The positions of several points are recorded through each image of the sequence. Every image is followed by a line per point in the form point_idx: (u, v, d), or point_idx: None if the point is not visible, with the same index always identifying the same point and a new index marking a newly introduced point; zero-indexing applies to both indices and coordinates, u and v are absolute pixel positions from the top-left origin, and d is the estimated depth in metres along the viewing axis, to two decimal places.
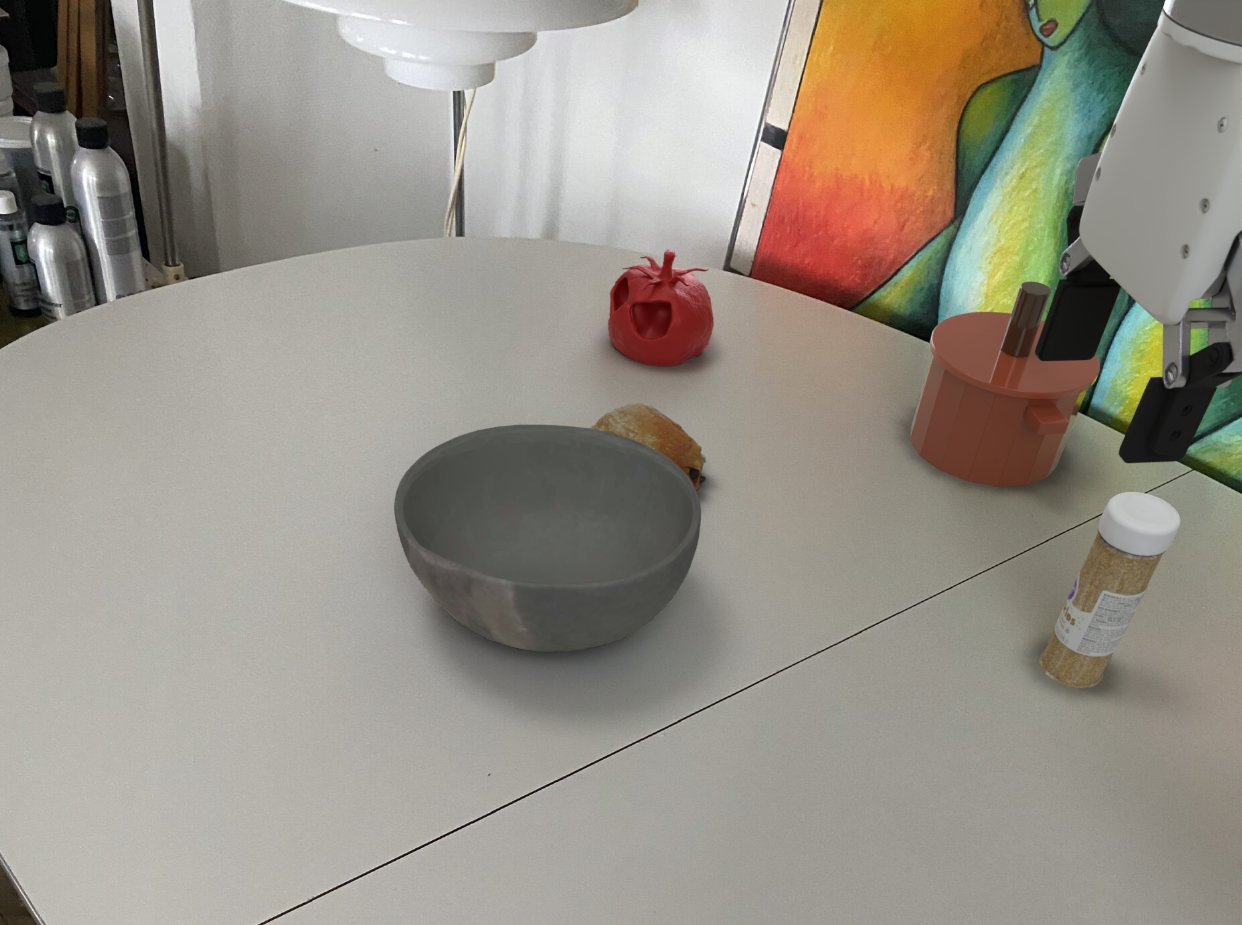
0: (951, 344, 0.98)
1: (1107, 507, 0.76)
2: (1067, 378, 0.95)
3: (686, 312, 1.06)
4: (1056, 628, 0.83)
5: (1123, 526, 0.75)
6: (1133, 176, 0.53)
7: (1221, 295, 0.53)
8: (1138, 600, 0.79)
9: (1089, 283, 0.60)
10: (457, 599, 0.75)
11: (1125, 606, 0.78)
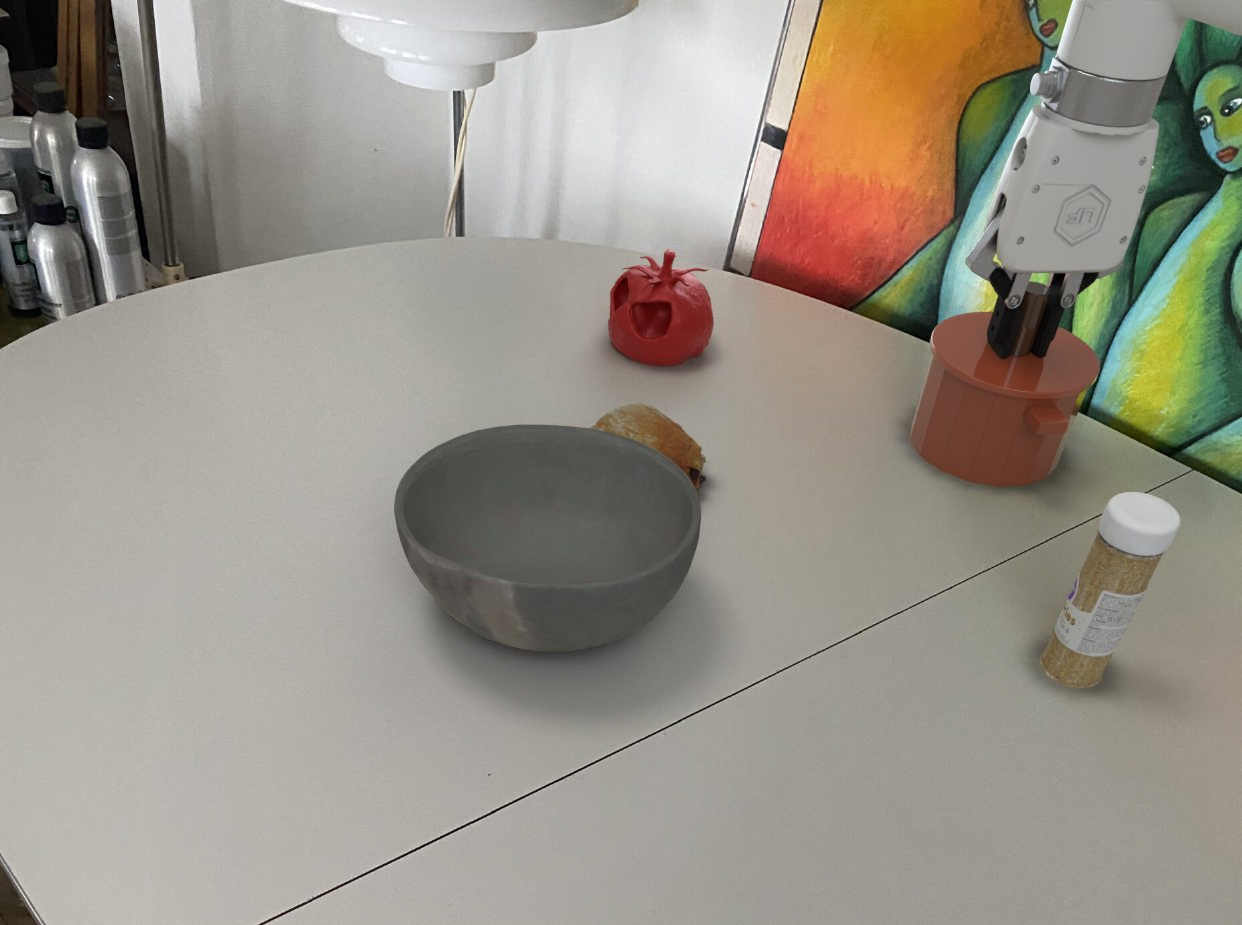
0: (951, 344, 0.98)
1: (1107, 507, 0.76)
2: (1067, 378, 0.95)
3: (686, 312, 1.06)
4: (1056, 628, 0.83)
5: (1123, 526, 0.75)
6: None
7: None
8: (1138, 600, 0.79)
9: None
10: (457, 599, 0.75)
11: (1125, 606, 0.78)
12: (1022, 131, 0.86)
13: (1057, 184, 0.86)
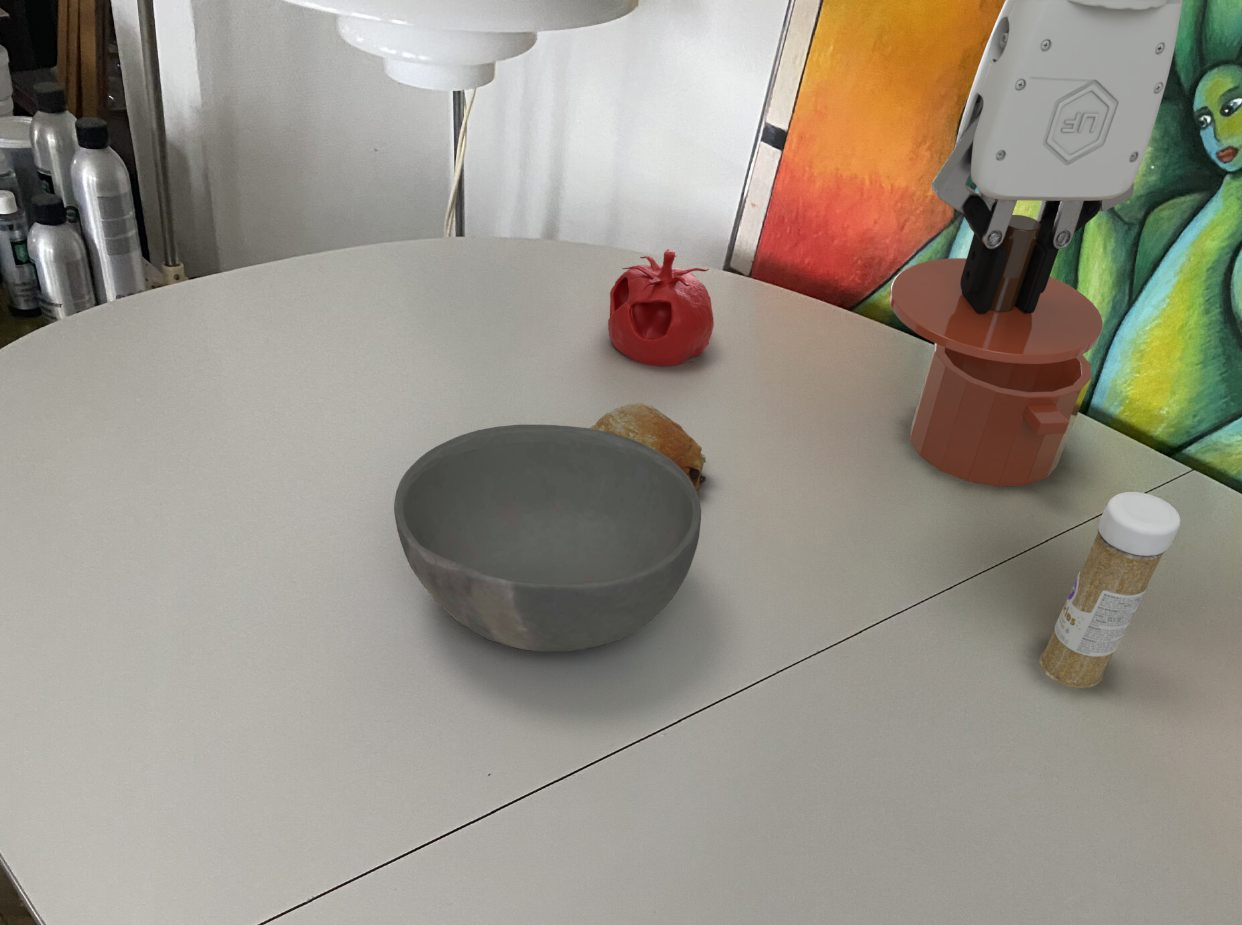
0: (916, 295, 0.78)
1: (1107, 507, 0.76)
2: (1062, 337, 0.75)
3: (686, 312, 1.06)
4: (1056, 628, 0.83)
5: (1123, 526, 0.75)
6: None
7: None
8: (1138, 600, 0.79)
9: None
10: (457, 599, 0.75)
11: (1125, 606, 0.78)
12: (1003, 10, 0.66)
13: (1049, 78, 0.65)
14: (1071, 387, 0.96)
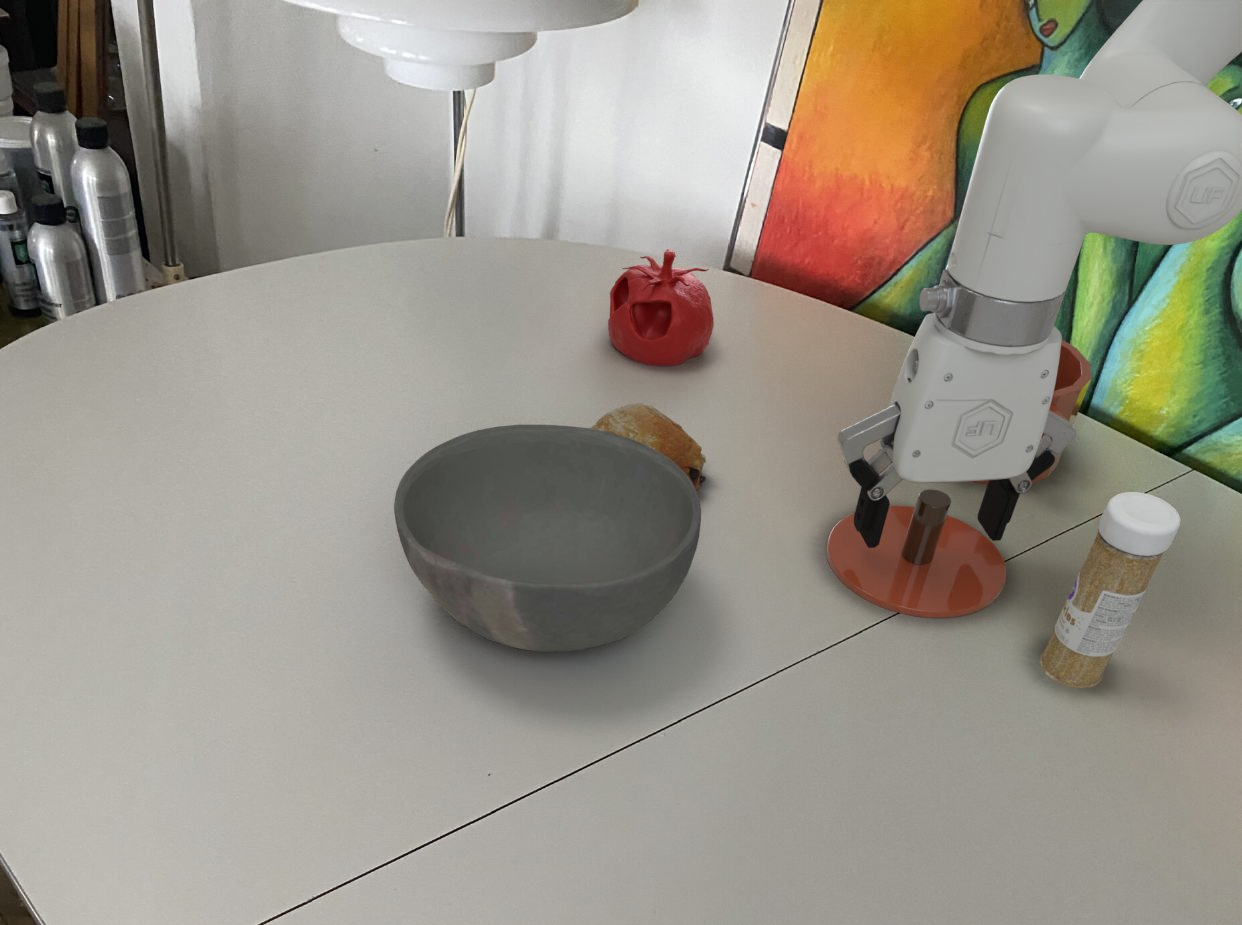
0: (848, 549, 0.92)
1: (1107, 507, 0.76)
2: (970, 591, 0.89)
3: (686, 312, 1.06)
4: (1056, 628, 0.83)
5: (1123, 526, 0.75)
6: None
7: None
8: (1138, 600, 0.79)
9: (1001, 482, 0.88)
10: (457, 599, 0.75)
11: (1125, 606, 0.78)
12: (914, 341, 0.79)
13: (952, 400, 0.79)
14: (1071, 387, 0.96)
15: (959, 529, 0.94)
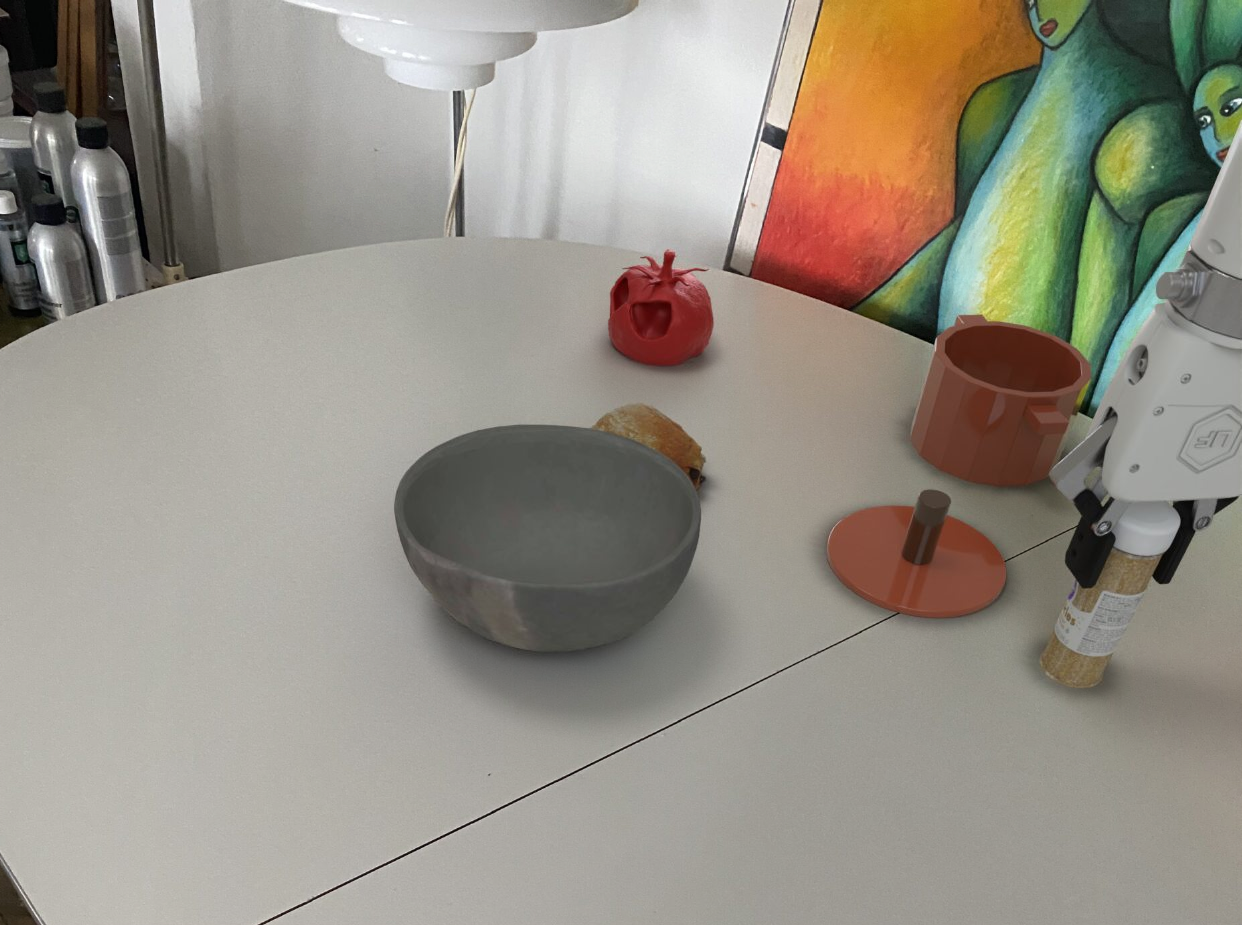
0: (848, 549, 0.92)
1: None
2: (970, 591, 0.89)
3: (686, 312, 1.06)
4: (1056, 628, 0.83)
5: (1123, 526, 0.75)
6: None
7: None
8: (1138, 600, 0.79)
9: None
10: (457, 599, 0.75)
11: (1125, 606, 0.78)
12: (1140, 336, 0.67)
13: (1186, 405, 0.67)
14: (1071, 387, 0.96)
15: (959, 529, 0.94)
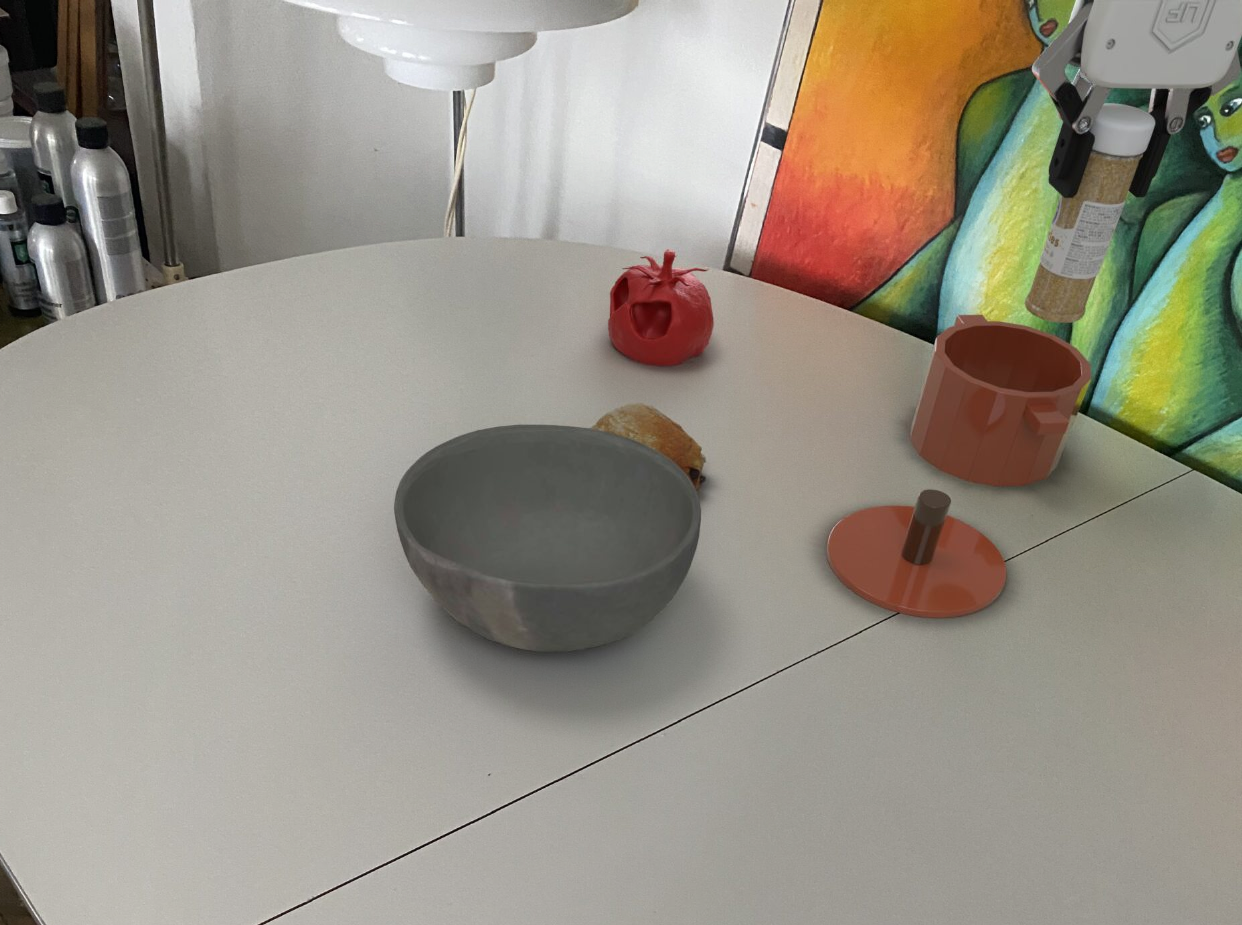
0: (848, 549, 0.92)
1: None
2: (970, 591, 0.89)
3: (686, 312, 1.06)
4: (1041, 257, 0.88)
5: (1102, 125, 0.80)
6: None
7: None
8: (1117, 213, 0.84)
9: None
10: (457, 599, 0.75)
11: (1105, 218, 0.84)
12: None
13: None
14: (1071, 387, 0.96)
15: (959, 529, 0.94)
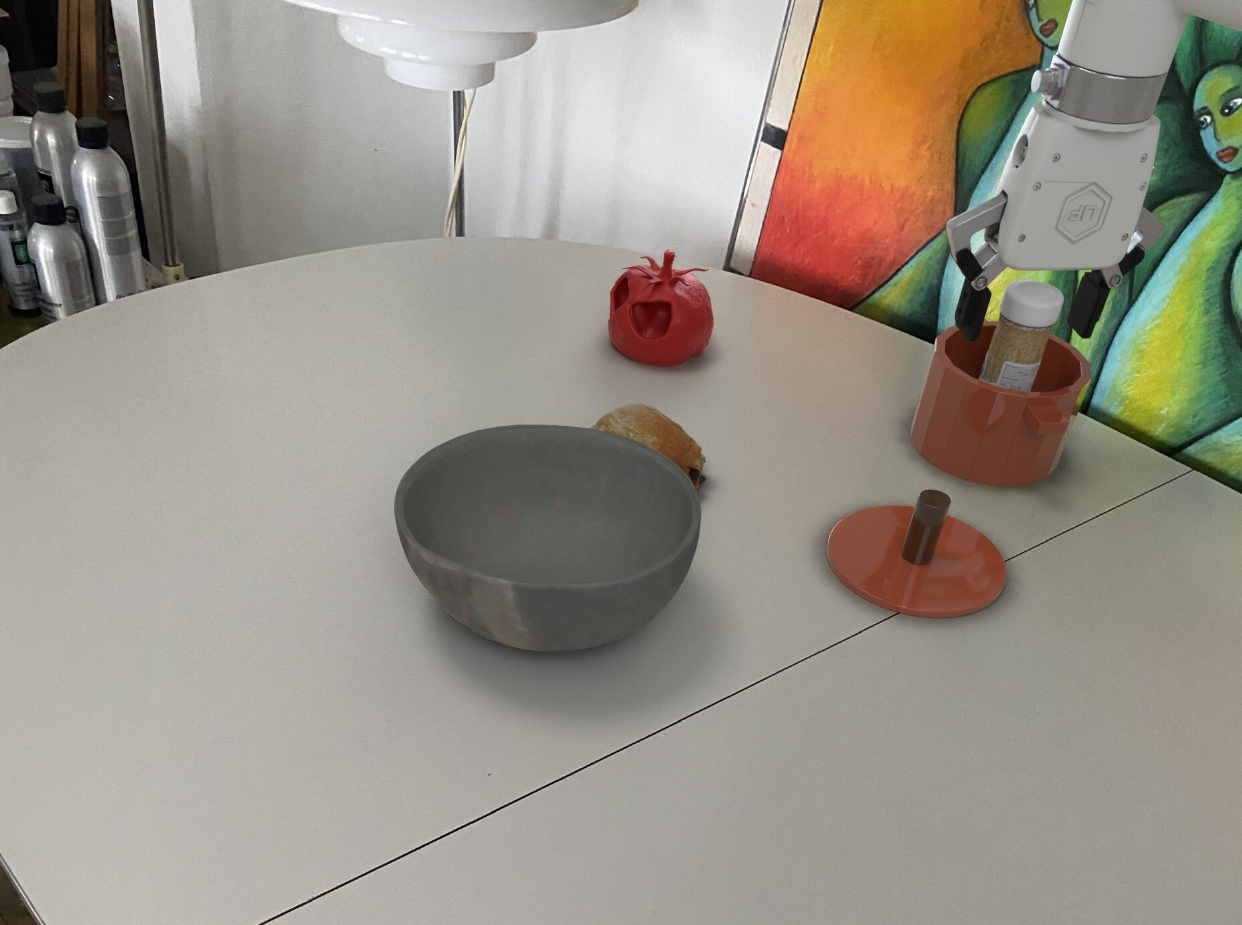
0: (848, 549, 0.92)
1: (1006, 289, 0.95)
2: (970, 591, 0.89)
3: (686, 312, 1.06)
4: None
5: (1017, 302, 0.93)
6: None
7: None
8: (1034, 371, 0.98)
9: (1092, 279, 0.95)
10: (457, 599, 0.75)
11: (1023, 375, 0.97)
12: (1023, 128, 0.86)
13: (1058, 181, 0.85)
14: (1071, 387, 0.96)
15: (959, 529, 0.94)
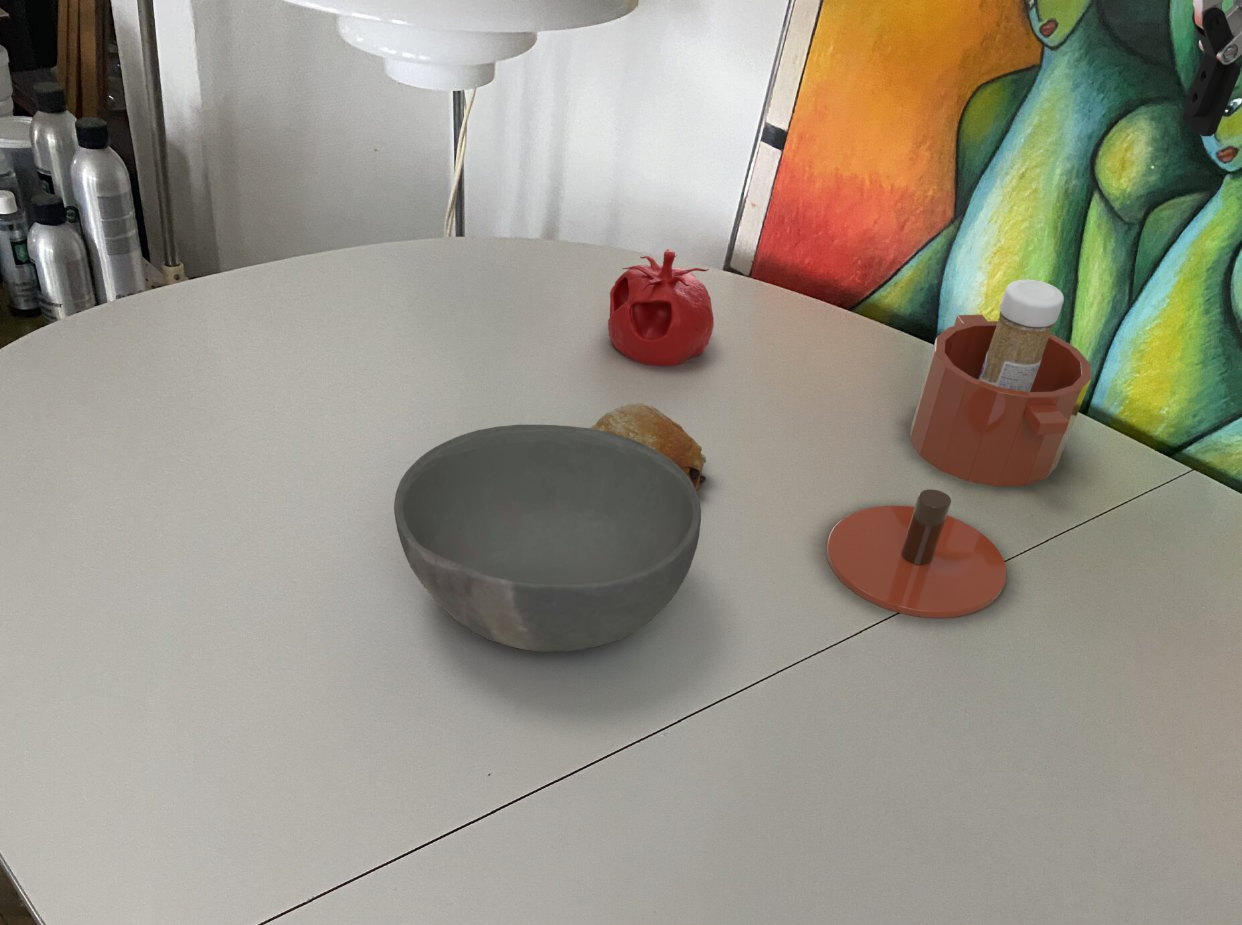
0: (848, 549, 0.92)
1: (1006, 289, 0.95)
2: (970, 591, 0.89)
3: (686, 312, 1.06)
4: None
5: (1017, 302, 0.93)
6: None
7: None
8: (1034, 371, 0.98)
9: None
10: (457, 599, 0.75)
11: (1023, 375, 0.97)
12: None
13: None
14: (1071, 387, 0.96)
15: (959, 529, 0.94)
